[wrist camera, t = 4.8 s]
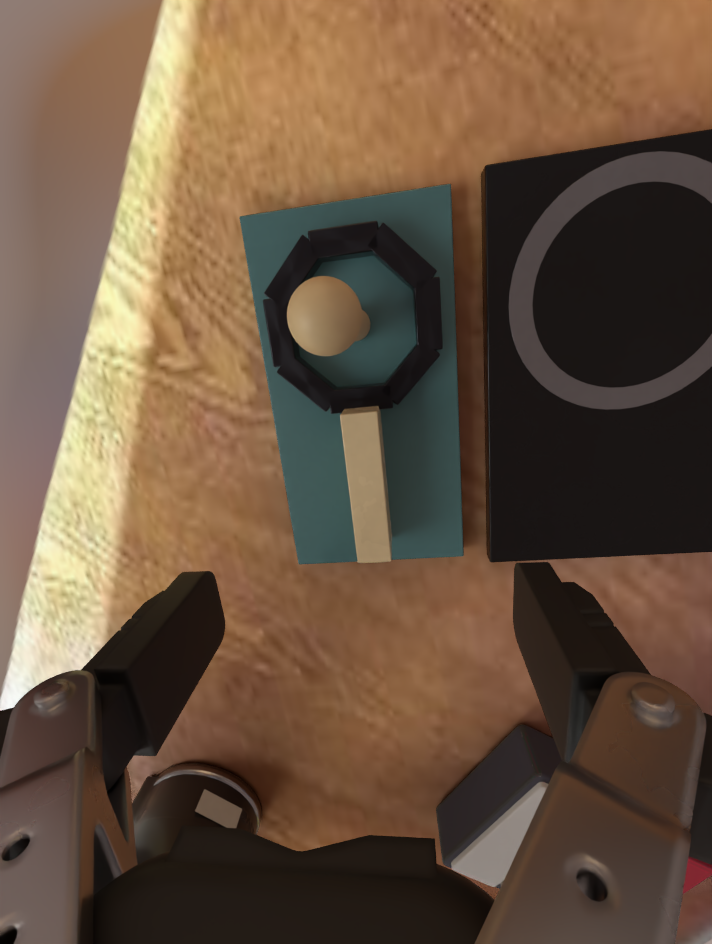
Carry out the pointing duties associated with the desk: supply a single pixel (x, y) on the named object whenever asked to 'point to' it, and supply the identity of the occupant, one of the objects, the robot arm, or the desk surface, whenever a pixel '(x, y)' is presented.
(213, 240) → the desk surface
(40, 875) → the robot arm
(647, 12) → the desk surface
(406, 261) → the hoop
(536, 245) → the hob plate
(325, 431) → the peg stand
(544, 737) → the calculator
